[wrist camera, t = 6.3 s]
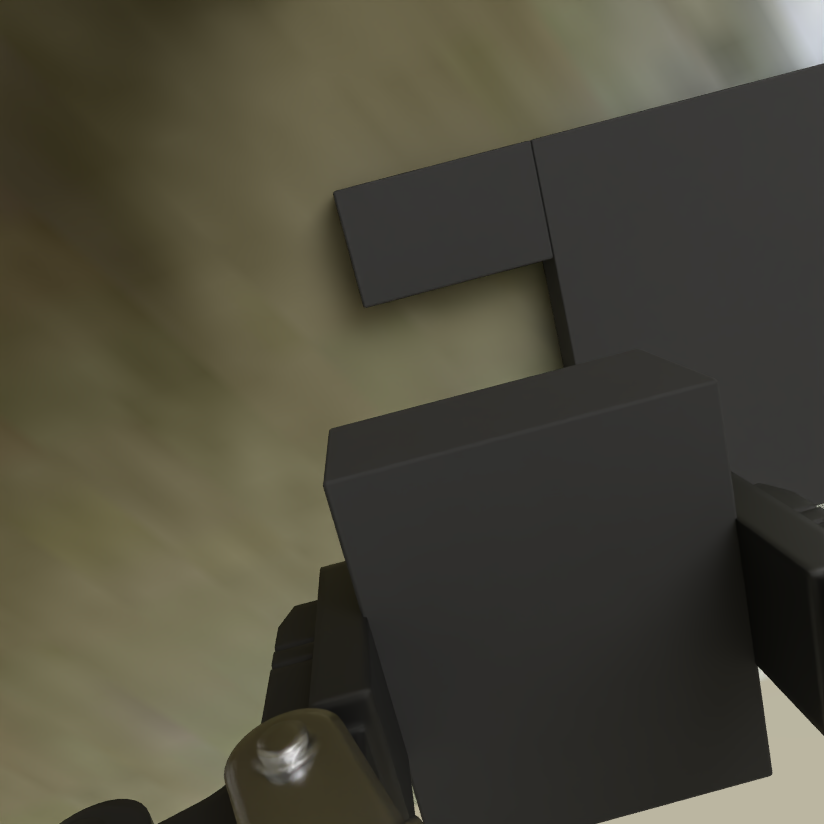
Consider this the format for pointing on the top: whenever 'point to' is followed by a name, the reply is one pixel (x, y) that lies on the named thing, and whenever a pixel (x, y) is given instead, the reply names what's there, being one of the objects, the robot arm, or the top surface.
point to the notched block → (647, 249)
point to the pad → (556, 592)
